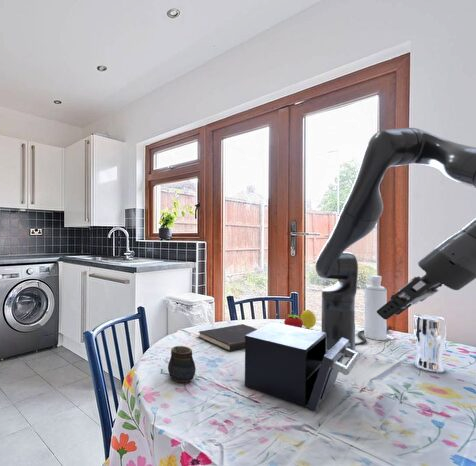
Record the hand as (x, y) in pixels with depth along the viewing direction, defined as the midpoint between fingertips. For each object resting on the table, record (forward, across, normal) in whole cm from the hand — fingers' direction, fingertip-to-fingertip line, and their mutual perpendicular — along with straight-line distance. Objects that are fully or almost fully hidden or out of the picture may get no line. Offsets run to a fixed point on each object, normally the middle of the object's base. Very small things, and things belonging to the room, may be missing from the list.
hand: (386, 313), depth 68 cm
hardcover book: (+48, -19, -22) cm, 56 cm away
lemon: (+40, -55, -16) cm, 70 cm away
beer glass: (+15, -42, +14) cm, 47 cm away
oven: (+30, +2, -1) cm, 30 cm away
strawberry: (+40, -39, -14) cm, 58 cm away
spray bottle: (+26, -64, -1) cm, 69 cm away
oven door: (+24, 0, +7) cm, 25 cm away
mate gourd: (+42, +22, -14) cm, 49 cm away
